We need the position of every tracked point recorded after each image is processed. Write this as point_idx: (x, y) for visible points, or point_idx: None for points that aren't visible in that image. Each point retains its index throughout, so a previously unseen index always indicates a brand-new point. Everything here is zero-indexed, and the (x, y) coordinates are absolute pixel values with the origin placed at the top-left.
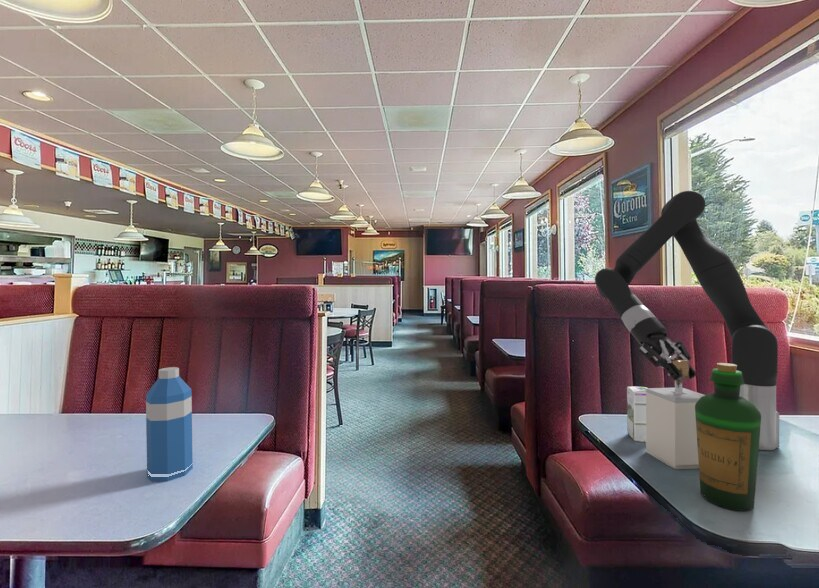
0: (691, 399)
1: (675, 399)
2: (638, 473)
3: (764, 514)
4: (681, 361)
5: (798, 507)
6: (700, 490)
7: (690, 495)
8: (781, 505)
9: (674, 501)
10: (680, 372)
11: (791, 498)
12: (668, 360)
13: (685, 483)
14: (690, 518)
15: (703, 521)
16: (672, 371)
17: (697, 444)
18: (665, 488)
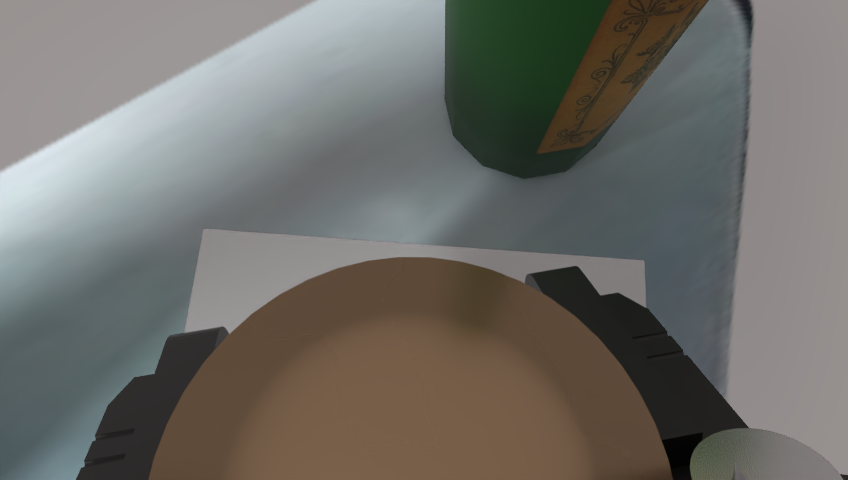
0: (460, 250)
1: (638, 263)
2: (725, 357)
3: None
4: (462, 355)
5: (310, 37)
6: (600, 139)
7: (628, 160)
8: (355, 55)
9: (721, 136)
10: (549, 295)
11: (264, 83)
12: (806, 466)
13: (574, 240)
14: (739, 47)
15: (709, 29)
16: (671, 358)
17: (686, 27)
18: (690, 219)
